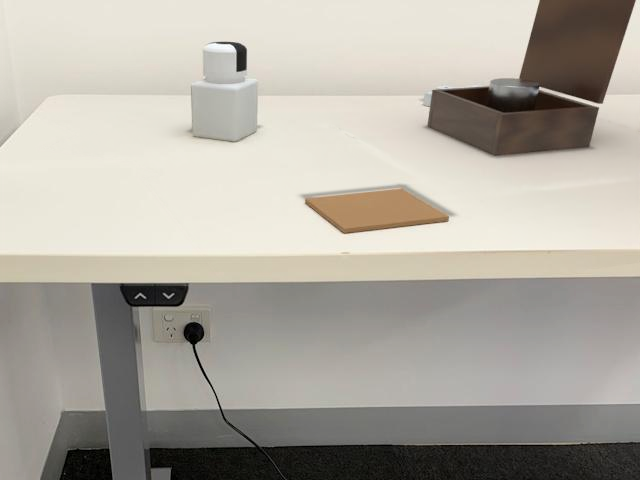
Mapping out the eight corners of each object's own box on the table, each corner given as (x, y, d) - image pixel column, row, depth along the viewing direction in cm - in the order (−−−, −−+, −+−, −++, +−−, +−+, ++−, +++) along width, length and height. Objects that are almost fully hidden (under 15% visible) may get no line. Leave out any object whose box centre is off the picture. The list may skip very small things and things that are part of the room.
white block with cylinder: (214, 126, 112) (213, 38, 106) (257, 131, 110) (259, 41, 103) (191, 136, 107) (189, 44, 101) (236, 142, 104) (236, 48, 98)
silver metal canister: (510, 129, 108) (520, 77, 105) (538, 139, 103) (550, 85, 100) (472, 132, 107) (481, 79, 103) (498, 143, 102) (509, 88, 98)
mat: (401, 192, 86) (402, 188, 86) (448, 221, 78) (449, 216, 78) (304, 202, 83) (305, 198, 82) (343, 233, 75) (344, 228, 75)
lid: (642, -35, 89) (671, -32, 91) (550, -42, 103) (577, -39, 104) (597, 103, 97) (625, 104, 99) (518, 80, 111) (543, 82, 112)
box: (493, 162, 97) (502, 114, 94) (426, 132, 110) (432, 89, 107) (587, 153, 101) (599, 107, 98) (511, 125, 114) (519, 84, 111)
